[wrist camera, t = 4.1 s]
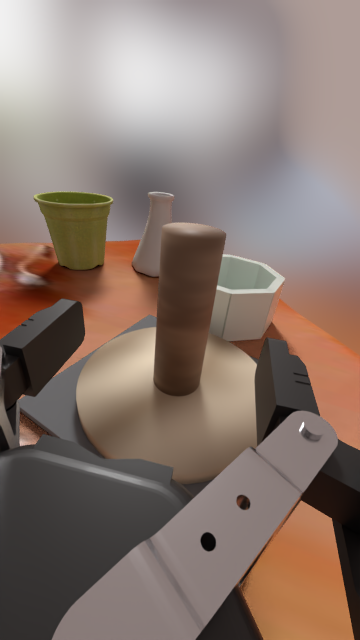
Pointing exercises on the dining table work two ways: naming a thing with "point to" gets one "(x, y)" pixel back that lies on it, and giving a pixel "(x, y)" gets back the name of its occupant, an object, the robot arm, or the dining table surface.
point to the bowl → (244, 299)
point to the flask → (153, 234)
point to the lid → (174, 373)
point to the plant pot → (76, 226)
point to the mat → (75, 405)
